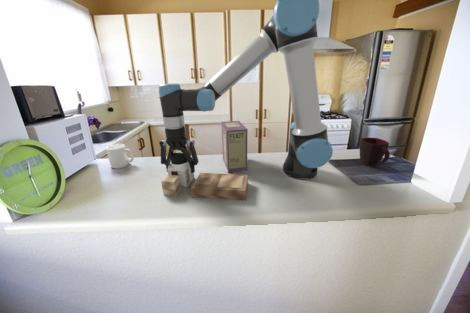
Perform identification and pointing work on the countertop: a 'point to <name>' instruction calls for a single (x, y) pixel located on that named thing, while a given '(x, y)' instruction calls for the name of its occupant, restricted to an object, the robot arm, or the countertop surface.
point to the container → (180, 168)
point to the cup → (118, 155)
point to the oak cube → (171, 185)
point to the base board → (220, 186)
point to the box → (234, 146)
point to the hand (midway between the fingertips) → (182, 178)
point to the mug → (373, 151)
